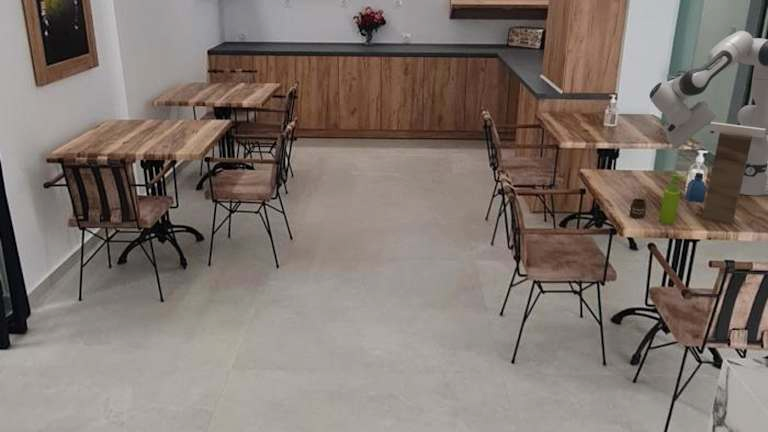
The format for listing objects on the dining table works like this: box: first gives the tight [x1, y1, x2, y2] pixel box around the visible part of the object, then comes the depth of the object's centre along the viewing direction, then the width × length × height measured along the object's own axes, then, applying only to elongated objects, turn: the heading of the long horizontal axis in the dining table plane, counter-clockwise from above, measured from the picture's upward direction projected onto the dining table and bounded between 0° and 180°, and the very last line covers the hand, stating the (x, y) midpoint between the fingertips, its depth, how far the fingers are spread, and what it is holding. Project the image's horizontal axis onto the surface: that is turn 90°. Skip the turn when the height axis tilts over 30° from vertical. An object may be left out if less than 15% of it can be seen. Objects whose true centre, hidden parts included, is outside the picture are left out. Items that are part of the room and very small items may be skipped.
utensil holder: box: [629, 189, 651, 220], centre depth 270 cm, size 6×6×12 cm
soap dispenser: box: [658, 173, 687, 225], centre depth 264 cm, size 6×7×20 cm
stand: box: [701, 132, 752, 226], centre depth 265 cm, size 9×11×36 cm
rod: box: [708, 121, 766, 138], centre depth 258 cm, size 3×20×3 cm, turn 56°
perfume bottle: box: [685, 172, 707, 203], centre depth 291 cm, size 6×6×12 cm
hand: (703, 140), depth 271 cm, fingers open, 8 cm apart
